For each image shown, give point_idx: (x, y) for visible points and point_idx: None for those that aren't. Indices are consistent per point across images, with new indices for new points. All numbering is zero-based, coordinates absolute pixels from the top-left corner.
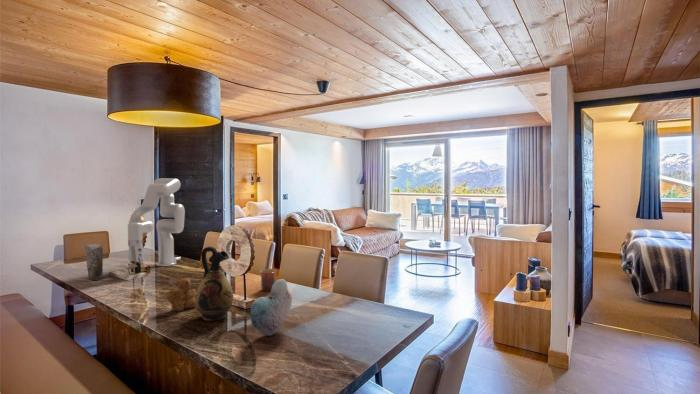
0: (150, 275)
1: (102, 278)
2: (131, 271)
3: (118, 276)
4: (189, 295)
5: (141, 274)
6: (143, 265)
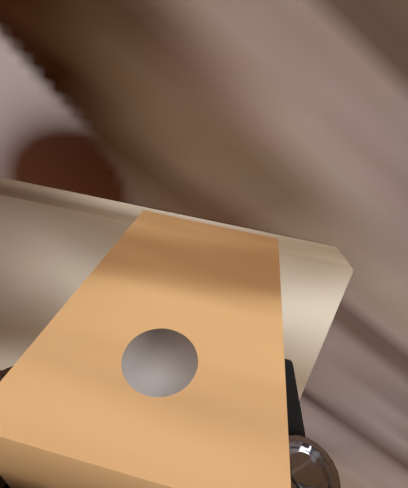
0: (368, 183)
1: None
2: None
3: None
4: None
5: (324, 331)
6: (278, 339)
